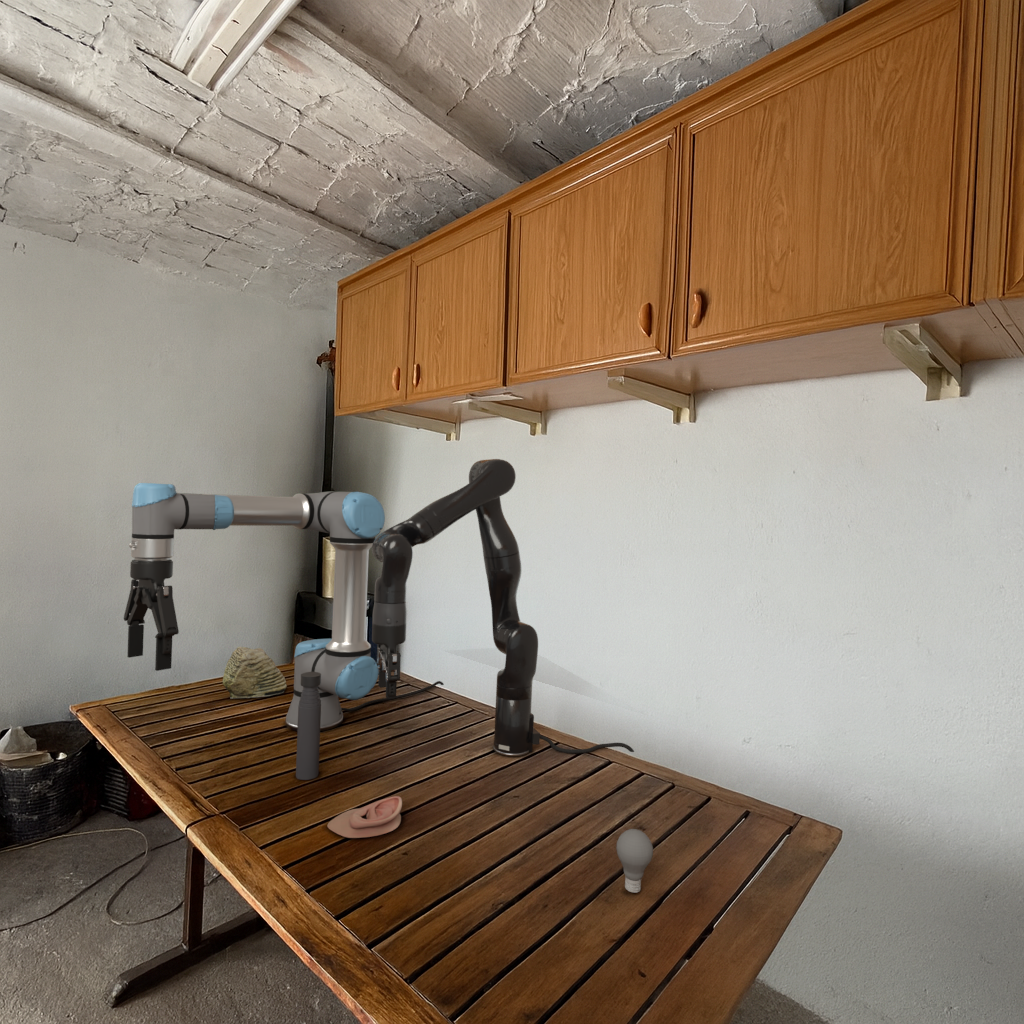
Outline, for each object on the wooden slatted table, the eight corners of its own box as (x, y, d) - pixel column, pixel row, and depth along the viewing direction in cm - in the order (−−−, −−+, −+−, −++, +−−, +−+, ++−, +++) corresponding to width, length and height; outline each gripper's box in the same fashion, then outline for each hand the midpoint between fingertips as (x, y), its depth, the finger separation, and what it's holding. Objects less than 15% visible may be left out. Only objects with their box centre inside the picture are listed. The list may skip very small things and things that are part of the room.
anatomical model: (320, 812, 119) (347, 786, 130) (319, 833, 119) (347, 805, 130) (386, 822, 116) (408, 795, 127) (385, 844, 116) (408, 814, 128)
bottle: (302, 782, 140) (306, 680, 140) (291, 774, 144) (295, 675, 143) (322, 775, 144) (326, 676, 143) (311, 768, 147) (315, 671, 147)
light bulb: (610, 879, 108) (613, 822, 108) (644, 879, 109) (647, 822, 109) (619, 902, 102) (622, 840, 102) (655, 901, 103) (658, 840, 103)
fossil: (218, 695, 195) (220, 647, 195) (278, 685, 208) (279, 640, 207) (228, 703, 189) (230, 653, 188) (289, 692, 201) (290, 645, 201)
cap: (306, 688, 140) (306, 678, 140) (297, 683, 143) (297, 673, 143) (324, 684, 143) (324, 674, 143) (314, 680, 146) (315, 670, 146)
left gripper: (108, 554, 134) (104, 654, 134) (159, 565, 118) (155, 678, 119) (146, 552, 140) (143, 648, 140) (199, 563, 124) (195, 671, 124)
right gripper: (413, 626, 138) (410, 700, 138) (399, 614, 151) (396, 682, 152) (378, 628, 135) (376, 703, 136) (367, 615, 148) (364, 684, 149)
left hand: (148, 662), depth 129 cm, fingers open, 13 cm apart
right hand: (386, 692), depth 144 cm, fingers open, 8 cm apart
